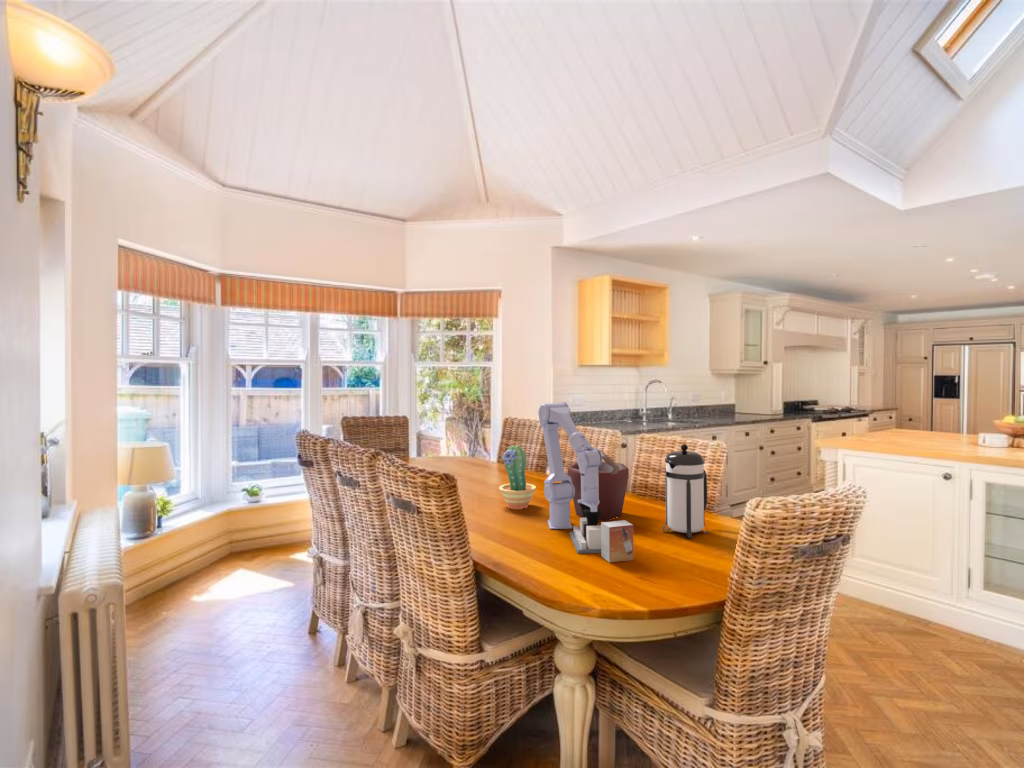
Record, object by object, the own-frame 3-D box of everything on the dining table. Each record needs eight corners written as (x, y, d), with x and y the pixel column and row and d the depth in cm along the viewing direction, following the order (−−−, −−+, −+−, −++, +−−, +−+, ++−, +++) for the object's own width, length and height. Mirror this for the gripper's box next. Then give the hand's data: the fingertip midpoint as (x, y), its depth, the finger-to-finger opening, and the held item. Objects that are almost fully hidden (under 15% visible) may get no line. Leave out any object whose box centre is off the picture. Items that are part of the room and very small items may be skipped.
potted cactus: (493, 504, 219) (491, 444, 218) (526, 499, 226) (525, 441, 225) (508, 513, 205) (507, 449, 204) (543, 508, 212) (542, 446, 211)
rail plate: (569, 534, 178) (569, 514, 178) (604, 533, 178) (604, 513, 178) (577, 553, 160) (577, 530, 160) (616, 552, 160) (616, 529, 160)
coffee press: (715, 540, 169) (715, 448, 168) (664, 538, 172) (663, 447, 171) (706, 524, 186) (706, 440, 185) (660, 523, 189) (659, 440, 188)
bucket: (634, 523, 189) (633, 454, 188) (572, 525, 189) (571, 455, 188) (619, 505, 214) (618, 444, 213) (564, 507, 213) (563, 445, 212)
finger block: (580, 535, 174) (579, 517, 174) (595, 535, 174) (594, 517, 174) (582, 539, 169) (582, 521, 169) (597, 539, 170) (597, 521, 169)
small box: (609, 563, 152) (608, 527, 151) (600, 556, 157) (600, 521, 157) (634, 560, 154) (633, 524, 153) (625, 553, 159) (624, 519, 159)
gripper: (574, 482, 178) (574, 521, 179) (581, 492, 164) (581, 535, 164) (594, 481, 178) (595, 521, 179) (603, 491, 164) (604, 534, 164)
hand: (590, 528), depth 172 cm, fingers open, 7 cm apart
